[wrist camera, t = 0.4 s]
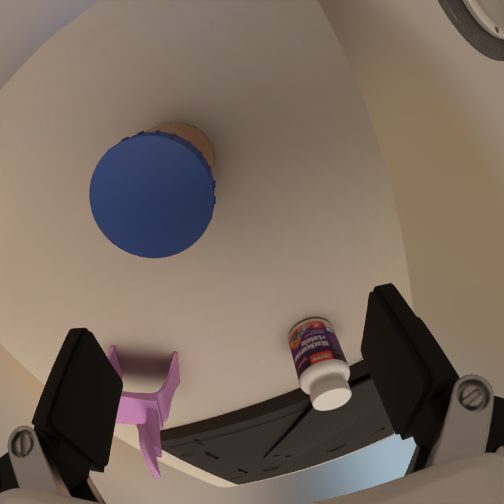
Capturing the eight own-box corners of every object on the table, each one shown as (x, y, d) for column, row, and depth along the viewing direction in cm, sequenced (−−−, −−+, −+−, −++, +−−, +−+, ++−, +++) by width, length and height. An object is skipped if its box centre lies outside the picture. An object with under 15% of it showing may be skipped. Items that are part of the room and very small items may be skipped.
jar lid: (173, 105, 14) (168, 106, 13) (238, 209, 17) (239, 220, 16) (78, 176, 15) (66, 184, 14) (143, 263, 18) (138, 278, 17)
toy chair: (106, 339, 32) (74, 448, 19) (176, 346, 33) (167, 464, 20) (118, 380, 36) (99, 476, 23) (180, 386, 37) (175, 487, 24)
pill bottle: (316, 308, 33) (343, 377, 24) (339, 331, 35) (367, 394, 26) (278, 335, 34) (294, 404, 25) (303, 355, 36) (322, 419, 28)
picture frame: (369, 356, 38) (151, 432, 44) (378, 376, 35) (150, 449, 41) (390, 425, 53) (237, 476, 58) (396, 438, 50) (238, 489, 55)
